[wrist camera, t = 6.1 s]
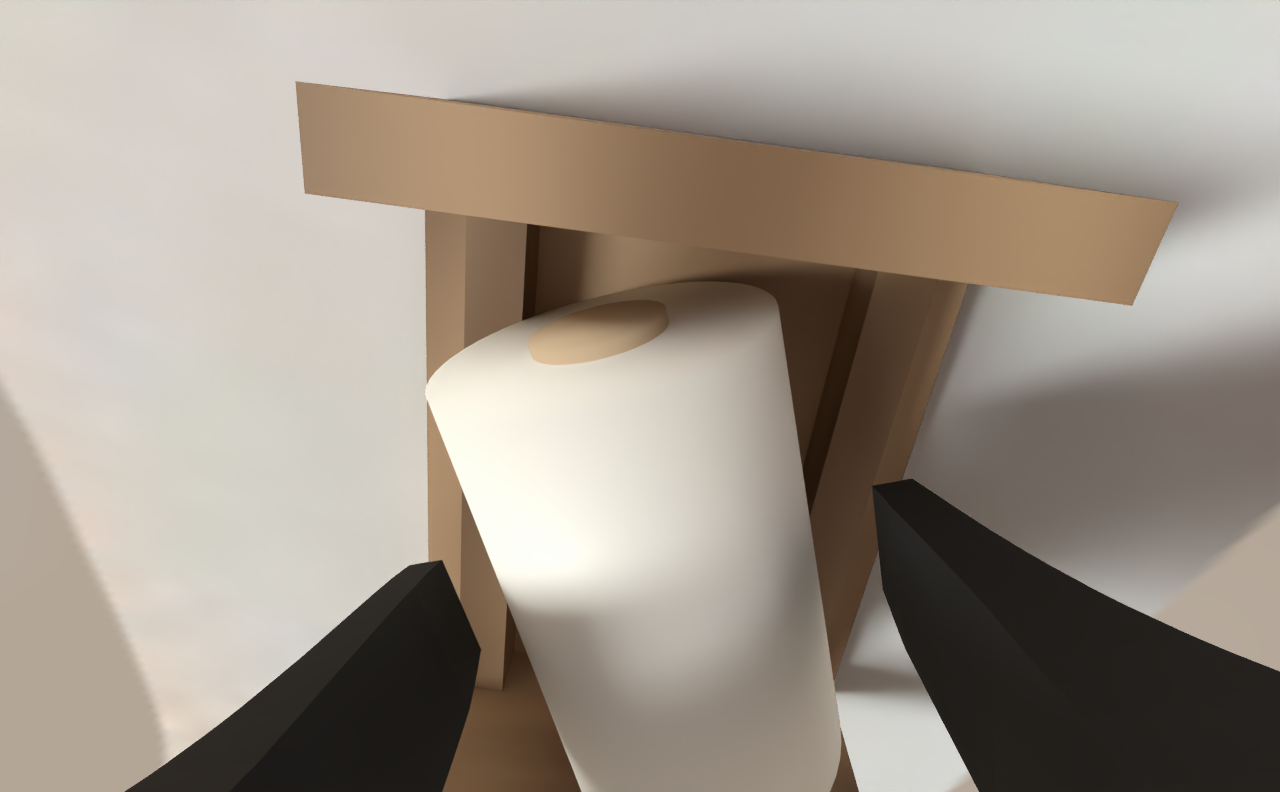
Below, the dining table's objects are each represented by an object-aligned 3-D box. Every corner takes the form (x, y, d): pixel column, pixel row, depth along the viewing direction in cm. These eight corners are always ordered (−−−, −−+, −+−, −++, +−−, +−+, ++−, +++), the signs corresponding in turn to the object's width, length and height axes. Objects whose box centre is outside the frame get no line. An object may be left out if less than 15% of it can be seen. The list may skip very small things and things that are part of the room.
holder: (977, 172, 12) (1177, 202, 7) (810, 693, 17) (863, 902, 12) (443, 99, 12) (295, 81, 7) (443, 646, 17) (358, 840, 12)
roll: (727, 252, 11) (836, 327, 7) (790, 613, 14) (894, 834, 10) (454, 321, 11) (372, 445, 7) (578, 668, 14) (581, 916, 10)
